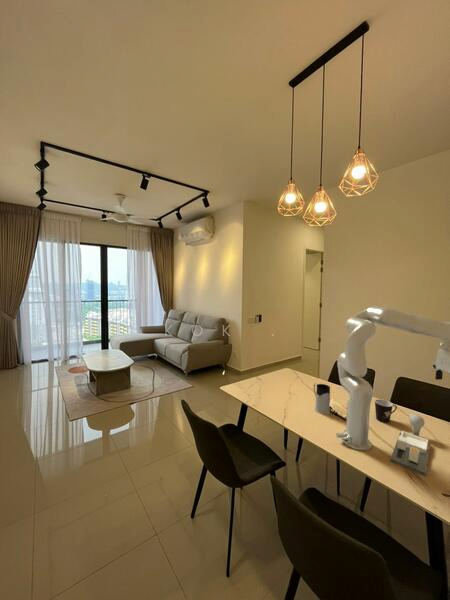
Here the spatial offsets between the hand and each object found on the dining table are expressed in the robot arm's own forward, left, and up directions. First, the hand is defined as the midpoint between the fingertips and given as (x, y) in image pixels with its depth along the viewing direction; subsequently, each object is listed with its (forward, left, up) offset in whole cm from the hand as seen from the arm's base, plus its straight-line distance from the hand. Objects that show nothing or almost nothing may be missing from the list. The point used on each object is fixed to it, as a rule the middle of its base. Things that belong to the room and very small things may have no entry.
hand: (448, 383), depth 120 cm
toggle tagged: (-26, -13, -28) cm, 40 cm away
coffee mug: (-15, +20, -30) cm, 39 cm away
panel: (-22, -7, -30) cm, 38 cm away
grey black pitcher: (-47, +34, -30) cm, 65 cm away
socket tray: (-16, -1, -29) cm, 33 cm away
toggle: (-25, -5, -28) cm, 38 cm away
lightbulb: (-9, +6, -30) cm, 32 cm away
